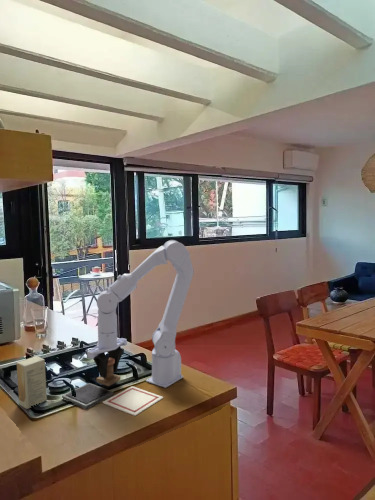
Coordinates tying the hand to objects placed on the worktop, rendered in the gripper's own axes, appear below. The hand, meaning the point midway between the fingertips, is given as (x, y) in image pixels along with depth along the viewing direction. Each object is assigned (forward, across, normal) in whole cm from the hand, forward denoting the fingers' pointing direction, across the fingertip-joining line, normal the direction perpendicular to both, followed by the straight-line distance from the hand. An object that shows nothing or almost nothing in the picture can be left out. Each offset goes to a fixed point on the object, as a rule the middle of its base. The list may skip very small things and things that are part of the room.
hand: (108, 374), depth 119 cm
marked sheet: (+3, +3, +13) cm, 14 cm away
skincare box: (+3, +20, -9) cm, 22 cm away
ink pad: (+3, +9, +1) cm, 10 cm away
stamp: (+2, 0, 0) cm, 2 cm away
